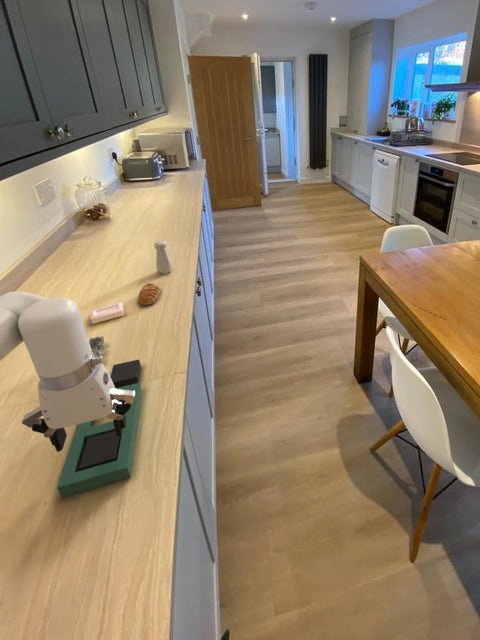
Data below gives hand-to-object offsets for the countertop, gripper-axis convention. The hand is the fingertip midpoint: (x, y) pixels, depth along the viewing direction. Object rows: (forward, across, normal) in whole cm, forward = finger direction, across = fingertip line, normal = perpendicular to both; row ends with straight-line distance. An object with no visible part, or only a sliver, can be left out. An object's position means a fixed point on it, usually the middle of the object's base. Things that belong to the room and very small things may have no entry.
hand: (92, 436), depth 61 cm
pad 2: (+6, -2, -19) cm, 20 cm away
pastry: (+7, -5, -56) cm, 57 cm away
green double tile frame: (+6, -1, -4) cm, 8 cm away
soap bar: (+7, +7, -49) cm, 50 cm away
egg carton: (+7, +8, -30) cm, 32 cm away
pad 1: (+6, -1, 0) cm, 6 cm away
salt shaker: (+7, -9, -74) cm, 75 cm away
